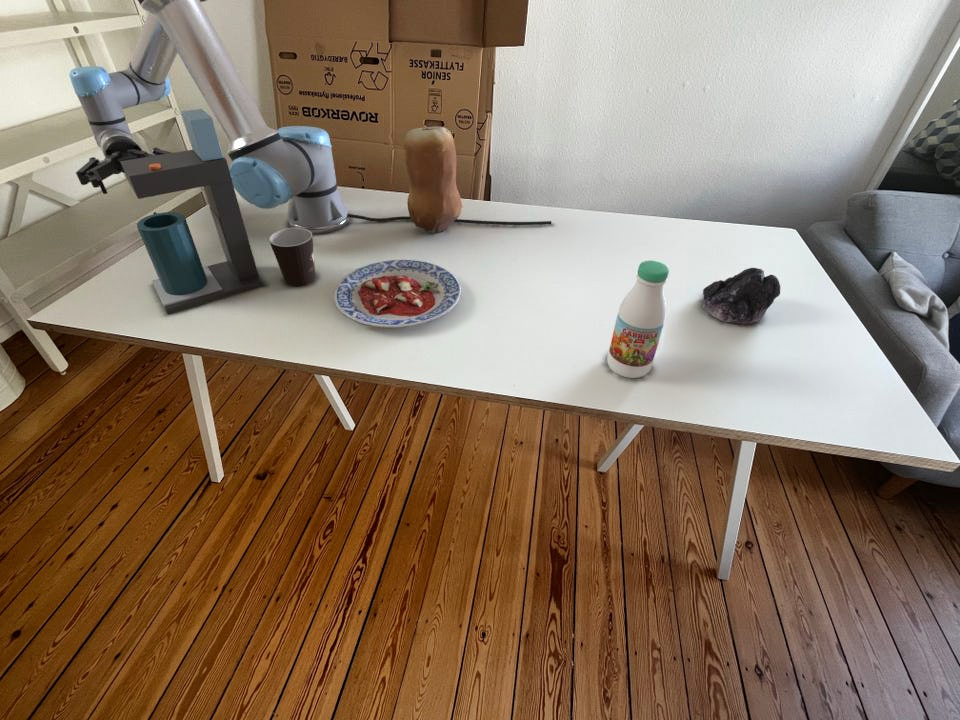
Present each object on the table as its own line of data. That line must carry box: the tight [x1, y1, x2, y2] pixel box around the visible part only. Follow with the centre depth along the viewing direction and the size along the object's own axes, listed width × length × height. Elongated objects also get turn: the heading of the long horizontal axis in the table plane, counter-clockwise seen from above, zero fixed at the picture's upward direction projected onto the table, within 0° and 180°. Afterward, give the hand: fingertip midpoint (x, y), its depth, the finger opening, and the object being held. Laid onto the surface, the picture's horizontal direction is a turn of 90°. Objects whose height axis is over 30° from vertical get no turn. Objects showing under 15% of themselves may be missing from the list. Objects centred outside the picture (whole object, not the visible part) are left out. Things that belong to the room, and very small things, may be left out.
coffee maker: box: [120, 108, 265, 315], centre depth 100 cm, size 13×19×33 cm
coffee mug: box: [268, 227, 316, 288], centre depth 111 cm, size 12×9×10 cm
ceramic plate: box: [333, 259, 462, 329], centre depth 107 cm, size 26×26×3 cm
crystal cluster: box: [702, 267, 782, 325], centre depth 105 cm, size 13×14×10 cm
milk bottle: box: [606, 259, 670, 379], centre depth 87 cm, size 8×8×20 cm
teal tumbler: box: [136, 211, 207, 295], centre depth 103 cm, size 8×8×14 cm
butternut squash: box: [403, 125, 464, 234], centre depth 126 cm, size 14×13×25 cm
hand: (140, 180), depth 106 cm, fingers open, 13 cm apart
